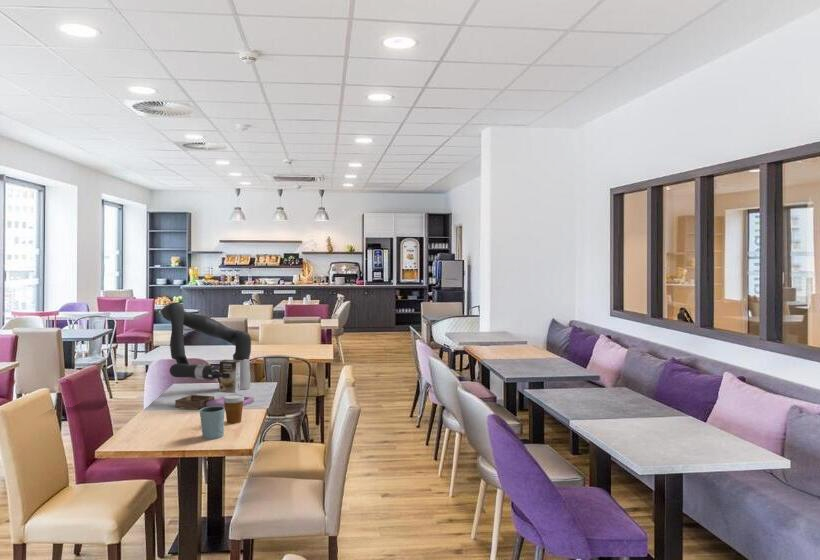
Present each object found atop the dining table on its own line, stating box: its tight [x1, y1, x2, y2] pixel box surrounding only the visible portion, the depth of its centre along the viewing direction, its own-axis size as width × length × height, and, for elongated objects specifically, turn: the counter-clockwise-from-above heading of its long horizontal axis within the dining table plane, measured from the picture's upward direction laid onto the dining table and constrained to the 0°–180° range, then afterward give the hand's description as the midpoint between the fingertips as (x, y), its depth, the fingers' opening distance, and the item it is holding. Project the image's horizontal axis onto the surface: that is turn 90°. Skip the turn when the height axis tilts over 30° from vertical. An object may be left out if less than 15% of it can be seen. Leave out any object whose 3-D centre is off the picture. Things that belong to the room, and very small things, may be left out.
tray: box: [206, 394, 255, 408], centre depth 308 cm, size 17×17×2 cm
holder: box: [174, 394, 215, 410], centre depth 307 cm, size 13×14×4 cm
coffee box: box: [218, 359, 241, 394], centre depth 307 cm, size 9×6×16 cm
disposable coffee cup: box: [223, 393, 245, 425], centre depth 276 cm, size 10×10×12 cm
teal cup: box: [199, 406, 226, 440], centre depth 254 cm, size 10×10×12 cm
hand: (233, 374), depth 307 cm, fingers closed on coffee box, 7 cm apart
